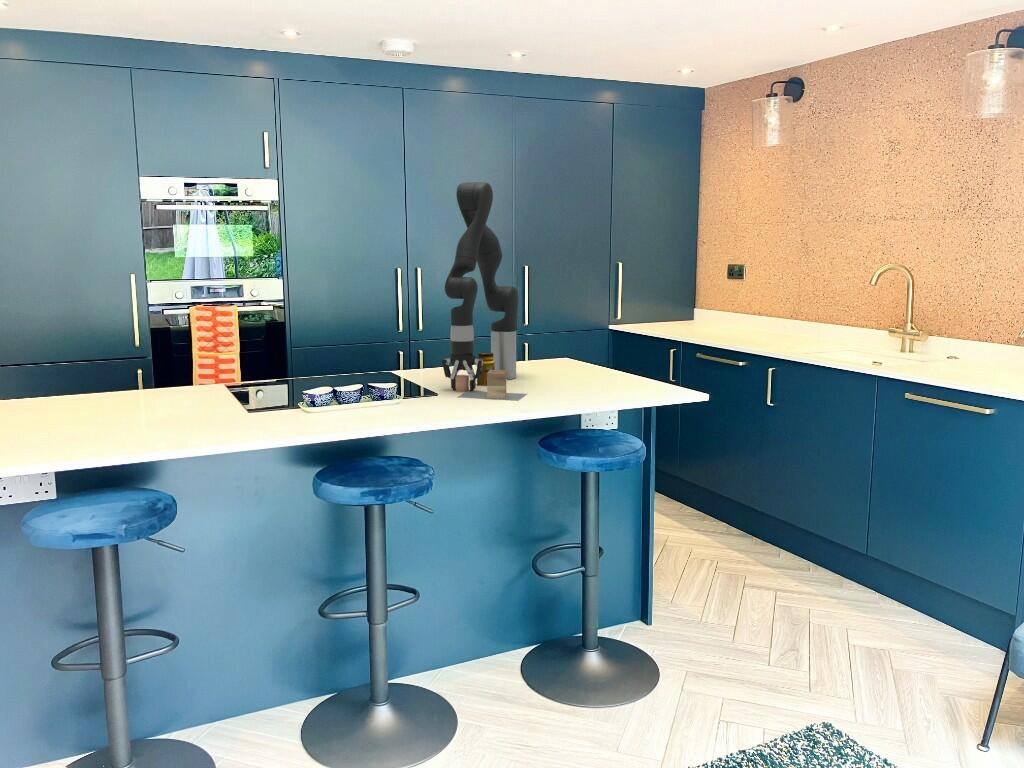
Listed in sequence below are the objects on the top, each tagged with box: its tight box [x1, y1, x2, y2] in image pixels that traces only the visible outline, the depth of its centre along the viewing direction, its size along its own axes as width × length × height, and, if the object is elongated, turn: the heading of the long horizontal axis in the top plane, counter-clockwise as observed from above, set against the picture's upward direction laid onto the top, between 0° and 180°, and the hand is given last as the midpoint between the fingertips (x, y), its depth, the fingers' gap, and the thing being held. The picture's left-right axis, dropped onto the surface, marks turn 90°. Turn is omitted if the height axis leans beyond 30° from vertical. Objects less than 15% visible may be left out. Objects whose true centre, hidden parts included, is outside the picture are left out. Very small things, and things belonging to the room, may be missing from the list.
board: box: [457, 390, 528, 402], centre depth 265 cm, size 12×20×1 cm, turn 75°
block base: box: [486, 384, 507, 400], centre depth 262 cm, size 6×6×4 cm
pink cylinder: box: [455, 374, 470, 393], centre depth 274 cm, size 4×4×6 cm
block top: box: [486, 370, 507, 387], centre depth 262 cm, size 6×6×4 cm
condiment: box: [476, 351, 495, 387], centre depth 285 cm, size 7×8×12 cm
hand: (463, 390), depth 274 cm, fingers open, 5 cm apart
